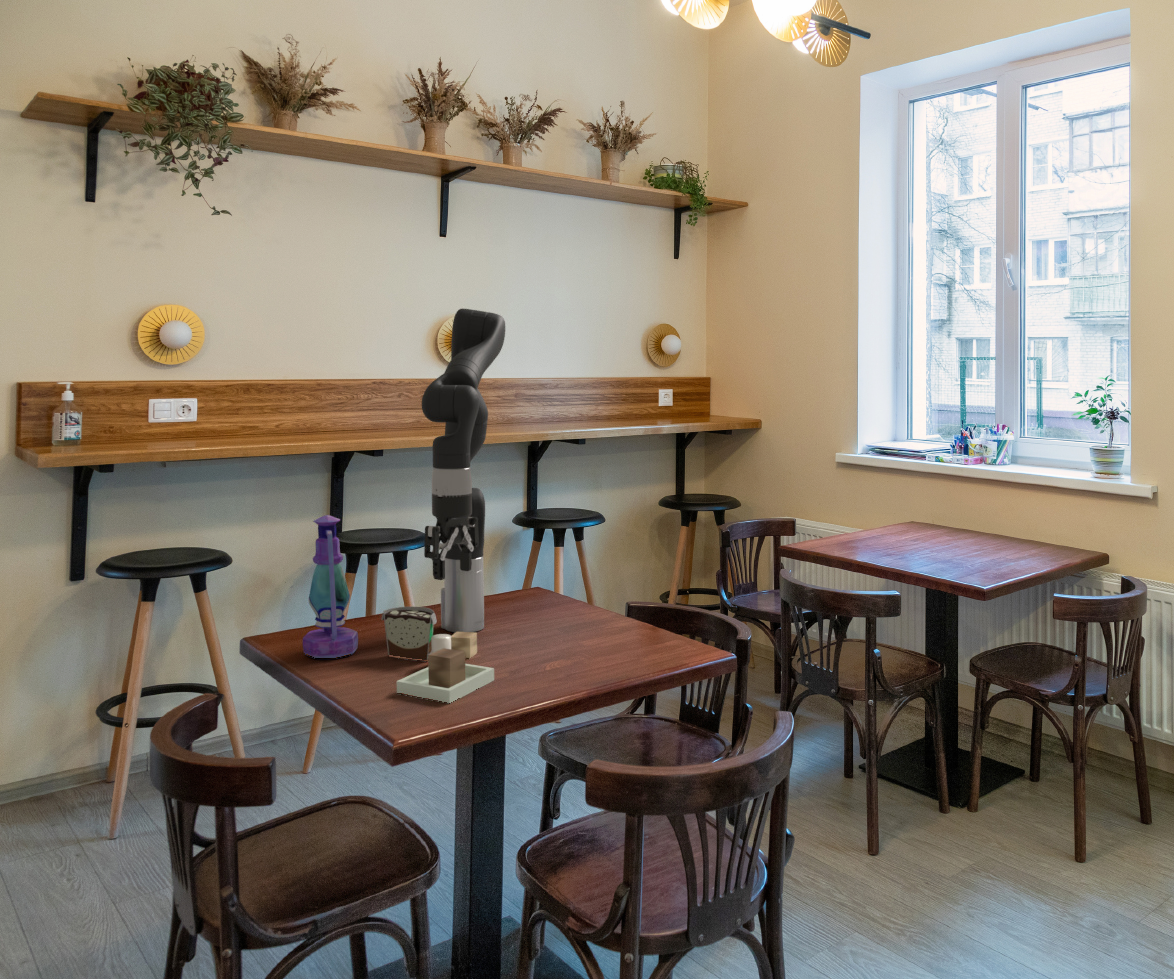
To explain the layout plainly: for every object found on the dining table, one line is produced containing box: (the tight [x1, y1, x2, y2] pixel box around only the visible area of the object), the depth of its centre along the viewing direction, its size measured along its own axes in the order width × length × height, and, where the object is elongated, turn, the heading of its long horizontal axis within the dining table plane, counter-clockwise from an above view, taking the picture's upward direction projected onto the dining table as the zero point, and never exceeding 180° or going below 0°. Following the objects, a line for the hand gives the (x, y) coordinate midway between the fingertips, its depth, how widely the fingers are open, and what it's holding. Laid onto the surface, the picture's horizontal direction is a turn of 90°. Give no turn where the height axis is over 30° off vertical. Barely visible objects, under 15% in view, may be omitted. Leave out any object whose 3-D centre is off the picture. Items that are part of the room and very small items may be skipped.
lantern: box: [302, 514, 359, 659], centre depth 201 cm, size 13×12×30 cm
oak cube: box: [450, 632, 478, 660], centre depth 202 cm, size 4×4×4 cm
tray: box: [396, 663, 495, 704], centre depth 181 cm, size 12×15×2 cm
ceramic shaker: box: [431, 633, 452, 653], centre depth 194 cm, size 4×4×6 cm
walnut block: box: [427, 648, 466, 688], centre depth 181 cm, size 5×5×6 cm
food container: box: [381, 606, 437, 660], centre depth 201 cm, size 12×6×10 cm, turn 71°
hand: (452, 574), depth 181 cm, fingers open, 8 cm apart
